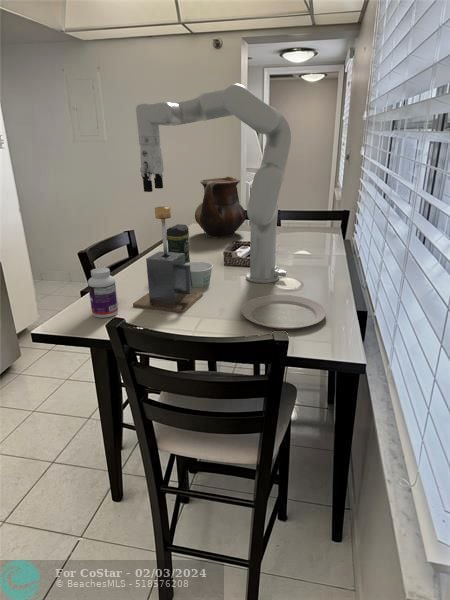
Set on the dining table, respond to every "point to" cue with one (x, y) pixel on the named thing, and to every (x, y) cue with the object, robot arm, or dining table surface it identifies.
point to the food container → (200, 273)
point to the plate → (288, 299)
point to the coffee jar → (179, 240)
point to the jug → (220, 208)
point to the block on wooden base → (168, 284)
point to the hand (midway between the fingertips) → (153, 190)
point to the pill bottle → (102, 293)
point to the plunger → (163, 223)
